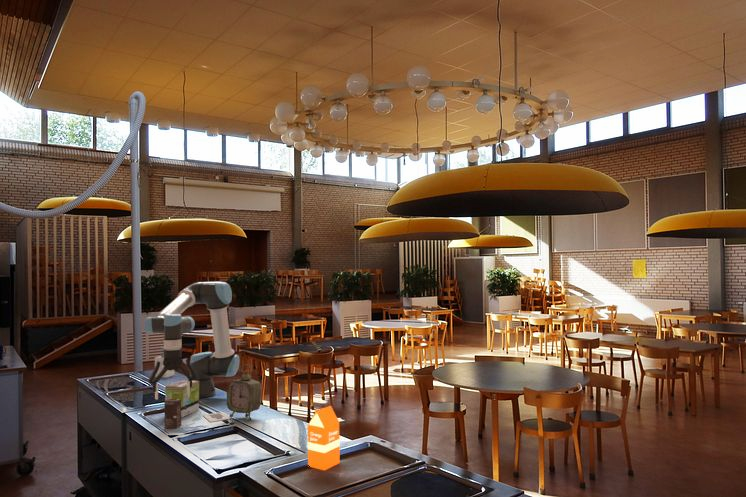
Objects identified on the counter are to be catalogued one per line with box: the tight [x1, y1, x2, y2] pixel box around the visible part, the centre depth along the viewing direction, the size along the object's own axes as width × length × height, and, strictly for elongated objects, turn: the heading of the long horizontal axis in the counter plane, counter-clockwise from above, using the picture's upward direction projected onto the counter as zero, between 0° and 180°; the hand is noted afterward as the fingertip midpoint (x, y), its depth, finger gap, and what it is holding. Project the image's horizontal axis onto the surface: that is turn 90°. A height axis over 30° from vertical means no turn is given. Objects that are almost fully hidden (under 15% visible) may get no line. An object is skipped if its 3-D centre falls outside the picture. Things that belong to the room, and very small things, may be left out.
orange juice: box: [307, 405, 341, 471], centre depth 197 cm, size 8×9×20 cm
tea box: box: [164, 379, 200, 419], centre depth 268 cm, size 15×10×15 cm, turn 168°
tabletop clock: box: [226, 363, 263, 422], centre depth 258 cm, size 14×9×25 cm, turn 64°
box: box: [164, 399, 182, 429], centre depth 245 cm, size 6×4×12 cm
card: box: [202, 411, 232, 423], centre depth 260 cm, size 10×13×1 cm
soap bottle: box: [154, 346, 175, 379], centre depth 359 cm, size 9×9×19 cm
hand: (172, 397), depth 245 cm, fingers open, 13 cm apart
